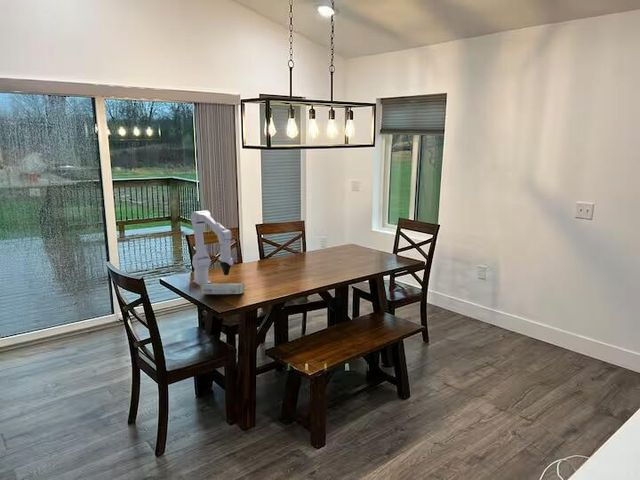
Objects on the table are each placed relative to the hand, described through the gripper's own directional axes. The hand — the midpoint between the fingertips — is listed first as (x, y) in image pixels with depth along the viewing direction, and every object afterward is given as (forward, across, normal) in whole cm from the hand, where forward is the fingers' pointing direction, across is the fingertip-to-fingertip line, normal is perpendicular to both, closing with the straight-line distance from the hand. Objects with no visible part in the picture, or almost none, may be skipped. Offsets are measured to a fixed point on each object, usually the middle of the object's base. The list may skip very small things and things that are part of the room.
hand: (226, 274), depth 261 cm
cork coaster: (+10, +15, +5) cm, 19 cm away
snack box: (+7, 0, +1) cm, 7 cm away
